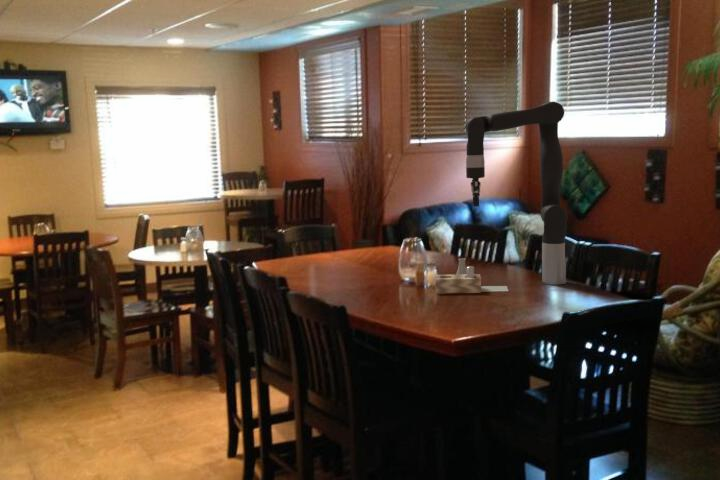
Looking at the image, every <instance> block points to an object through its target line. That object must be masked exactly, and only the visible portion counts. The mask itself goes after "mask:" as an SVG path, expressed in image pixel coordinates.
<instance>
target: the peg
mask: <svg viewBox="0 0 720 480" xmlns="http://www.w3.org/2000/svg"><path fill="white" fill-rule="evenodd" d="M466 269H467V278H474V274H475V267H474V266H473V265H470V266H466Z"/></svg>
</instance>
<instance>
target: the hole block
mask: <svg viewBox="0 0 720 480" xmlns="http://www.w3.org/2000/svg"><path fill="white" fill-rule="evenodd" d="M481 286H482V277H481V273H474V278H467V274H457V273H455V274H436V275H435V291H436V293H435V295H444V294H469V293H470V294H475V293H476V294H477V293H479V294H480V293H482V292H481Z"/></svg>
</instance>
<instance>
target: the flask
mask: <svg viewBox="0 0 720 480" xmlns="http://www.w3.org/2000/svg"><path fill="white" fill-rule="evenodd" d="M466 260H467V259H466V258H465V257H464V258H463V257H461V258H458V267H457V271H456V274H467V266H466Z"/></svg>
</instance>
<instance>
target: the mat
mask: <svg viewBox="0 0 720 480" xmlns="http://www.w3.org/2000/svg"><path fill="white" fill-rule="evenodd" d="M482 292H486V293H487V292H489V293H490V292H509V289H508V286H507V285H483V286H482V285H481V293H482Z"/></svg>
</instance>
